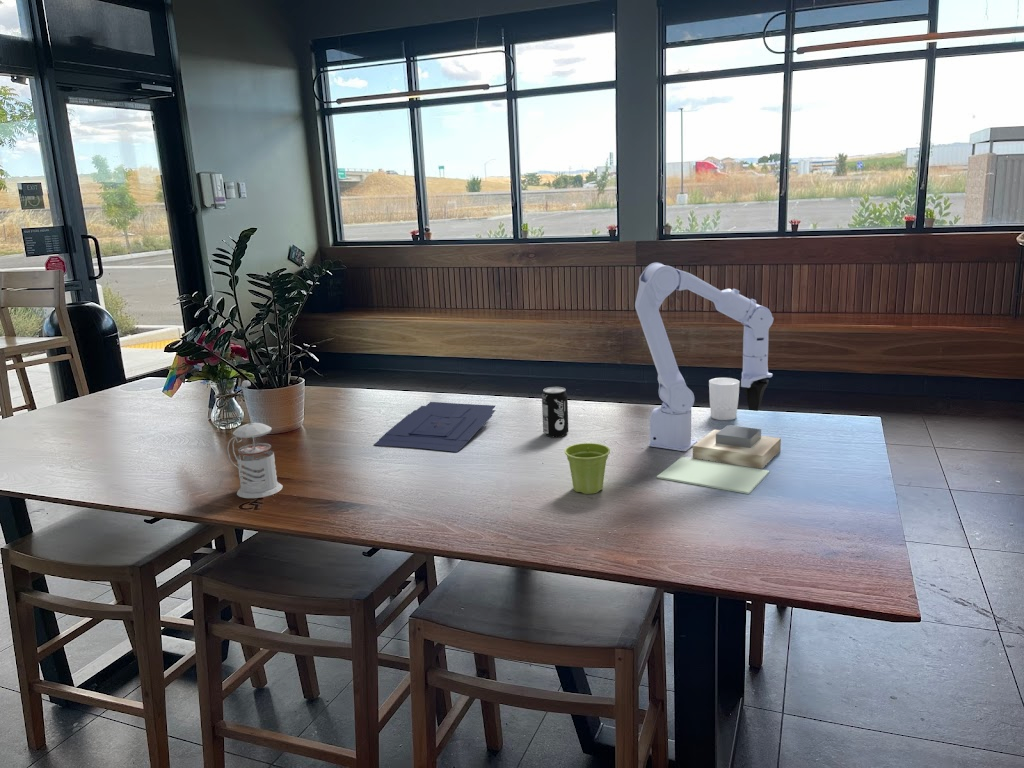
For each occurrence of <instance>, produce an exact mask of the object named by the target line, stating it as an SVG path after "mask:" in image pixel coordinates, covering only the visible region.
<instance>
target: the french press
mask: <svg viewBox="0 0 1024 768" xmlns="http://www.w3.org/2000/svg"><path fill="white" fill-rule="evenodd" d="M241 387H243V388H244V387H245V388H246V389H245V390H246V397H247V404H248V413H249V420H250V422H249V423H246V424H243V425H241V426H239V427H237V428H236V429H234V430H233V432H232V435H233V437H232V438H230V439H229V441H228V442H227V448H226V449H227V455H228V459H229V460H230V463H231V464H232V465H233V466H234V467H236V468H237V469H238V476H239V484H240V487H239V489H238V490H237V492H236V495H237V496H238V497H239V498H244V499H258V498H265V497H270V496H273V495H274V494H275V495H276V494H277V493H278V492H280V491H281V490H282V489H283V484H281V483H280V482H278V476H277V469H276V468H277V467H276V463H275V462H276V459H275V451H273V450H271V449H272V445H271V444H269V443H263V442H262V443H261V442H260V443H259V442H258V443H255V438H257V437H262V436H265V435H267V434H270V433H271V431H272V427H271V426H269V425H267V424H264V423H260V422H252V421H253V420H252V414H251V407H250V399H249V391H248V387H251V381H250V380H248V379H247V380H243V381H242V382H241ZM238 438H240V440H239V441H238ZM243 438H245V439H248V438H252V444H246V445H243V446H240V447H239V448H238V449H237V453H238V454H239V455H236V453H235V447H234V446H235V445H234V444H235V442H236V443H241V442H242V441H243ZM232 441H233V442H232ZM231 442H232V453H233V456H234V457H235V460H236V461H237V465H236V464H235V462H233V460H232V459H231V455H230V451H229V448H230V447H229V446H230V443H231ZM263 454H264V455H267V456H264V455H263ZM241 455H242V458H241ZM259 455H263V456H259ZM256 456H259V457H257V458H255V457H256ZM242 459H243V460H242ZM243 467H244V468H243ZM243 472H244V473H243ZM244 478H245V479H244Z"/></svg>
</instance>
